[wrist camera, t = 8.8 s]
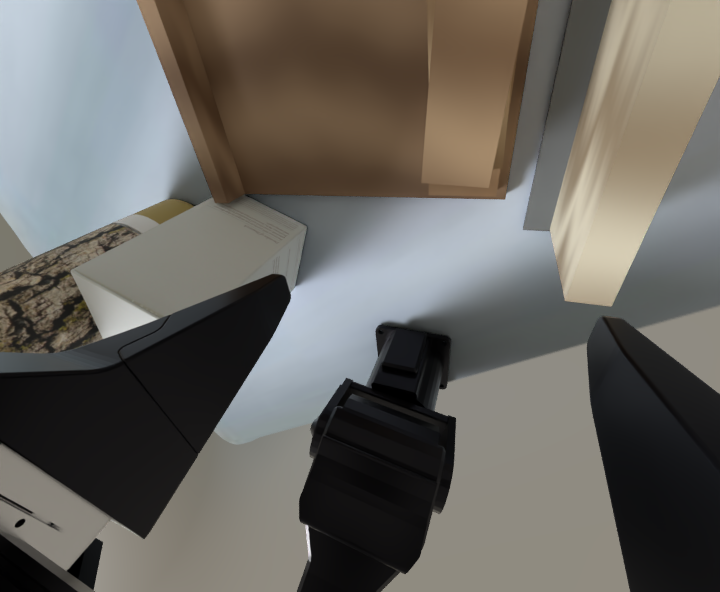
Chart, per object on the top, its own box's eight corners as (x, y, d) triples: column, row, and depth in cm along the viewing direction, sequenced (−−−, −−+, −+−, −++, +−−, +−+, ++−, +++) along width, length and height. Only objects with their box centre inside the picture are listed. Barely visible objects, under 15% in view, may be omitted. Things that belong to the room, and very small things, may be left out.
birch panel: (581, 230, 18) (611, 306, 12) (549, 229, 18) (565, 301, 13) (693, -99, 11) (866, -239, 5) (634, -85, 11) (741, -200, 6)
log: (202, 193, 26) (-494, 521, 8) (235, 263, 30) (-189, 594, 12) (150, 198, 29) (-460, 453, 11) (187, 262, 33) (-221, 531, 15)
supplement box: (229, 184, 25) (62, 265, 16) (310, 225, 24) (188, 333, 15) (228, 255, 30) (101, 347, 21) (295, 290, 29) (197, 401, 20)
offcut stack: (500, 190, 17) (499, 211, 15) (426, 189, 19) (415, 208, 17) (566, -227, 10) (583, -308, 8) (433, -176, 11) (415, -230, 9)
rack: (505, 194, 18) (504, 213, 16) (239, 190, 25) (215, 202, 23) (578, -244, 10) (596, -319, 8) (152, -73, 17) (101, -91, 15)
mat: (602, 231, 17) (603, 233, 17) (523, 227, 19) (523, 229, 19) (727, -100, 10) (732, -104, 10) (586, -68, 12) (587, -70, 12)
